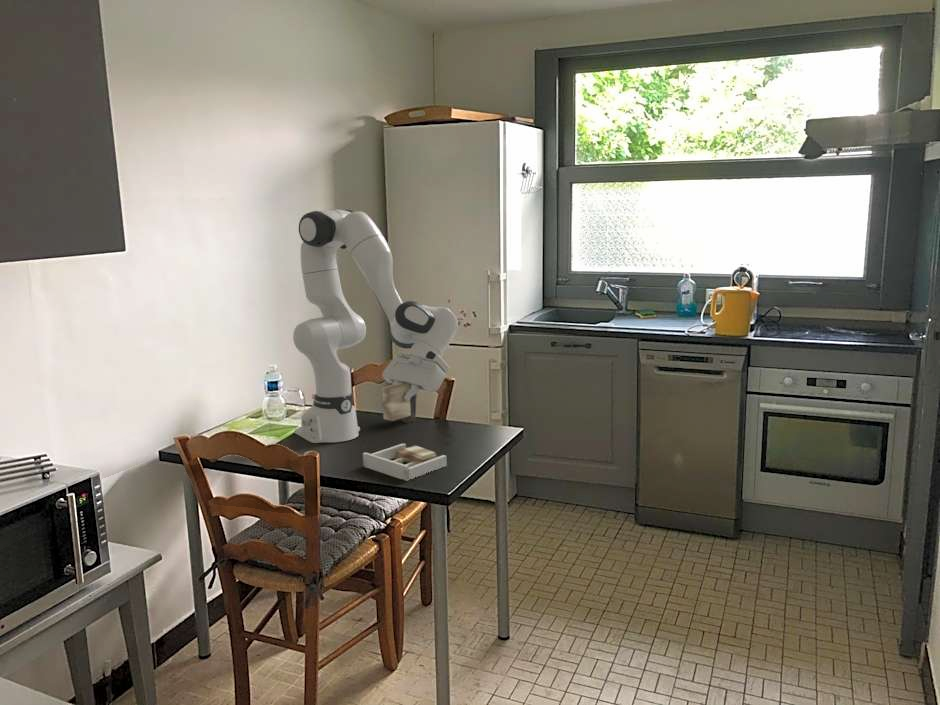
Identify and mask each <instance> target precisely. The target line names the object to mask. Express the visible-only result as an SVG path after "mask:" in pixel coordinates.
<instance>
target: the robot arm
mask: <svg viewBox="0 0 940 705" xmlns="http://www.w3.org/2000/svg"><path fill="white" fill-rule="evenodd" d="M298 234H299V237H300V238H301V241H302V242H301V244H300V268H301V275H302V280H303V286H304V292H305V297H306V300H308V303H309V302H310V304H313V305H314V306H316V307H318V309H319V310H320V312H321V314H322V317H321V316H320V317H316V318H310V319H307V320H306V321H303V322H301V323H298V324H297V325H296V326H295V328H294V330H293V334H292V340H293V344H294V346H295V347H296V349H297V350H298V352H300V353H301V354H303V355H304V356H305V357H306V358H307V359H308V360H309V362H310V364H311V366H312V369H313V373H314V380H315V392H316V393H315V394H312V395H311V396H312V397H311V399H313V403H312V405H311V407H309V408H308V409H306V411H305V412H304V413H303V414H302V415H301V419H300V421H301V422H300V424H301V425H300V426H299V427H296V428H295V429H294V431H293V432H294V434H295V435H298V436H299V437H301V438H303V439H304V440H306V441H308V442H310V443H312V444H321V443H341V442H342V443H343V442H347V441H350V440H353V439H356V438H357V437H358V436H359V435H360V433H359V432H360V431H361V427H360V426H358V425H359V424H358V419H357V418H358V417H357V410H356V408H355V406H354V405H353V404H354V402H355V401H354V397H355V396H354V393H353V391H352V377H351V376H352V374H351V373H352V372H351V369H350V367H349V366H348V365H346V364H345V363H344V362H341V361H340V359H339V357H338V352H337V351H339V350H342V349H343V350H344V349H348V348H351V347H353V346H356V345H358V344H359V343H362V342H363V341H364V340H365V338H366V335H367V326H366V322H365V321H364V319H363V318H362V316H361V315H359V314H357V313H356V312H354V310H353V309H352V308H351V306H350V305H349V303H348V302H347V300H346V297H345V295H344V292H343V290H342V289H343V288H342V284H341V279H340V278H341V277H340V275H339V268H338V264H337V256H336V255H337V251H338V250H339V249H342V250H345V249H346V248H347V251H348V252H349V254H350V256H351V258H352V259H353V261H354V262H355V264H356V266H357V267H358V269H359V271H360V272H361V273H362V275H363V277H364V278H365V280H366V282H367V283H368V284H369V286H370V288H371V290H372V291H373V294H374V296H375V298H376V300H377V301H378V304H379V305H380V307H381V309H382V311H383V314H384V315H385V317H386V319H387V322H388V325H389V336H390V338H391V341H392V342H393V343H394V344H395V345H396V346H397V347H399V348H402V349H409V351H408V353H407V354H404V353H403V354H402V353H401V354H400V355H397V356H395V357H394V358H393V359H392V360H391V361H390V362H389V363H388V364H387V366H386V367H385V368H384V370H383V371H382V373H381V376H382V378H383V380H385V381H386V383H388V384H391V385H393V384H397V383H406V384H410V388H411V389H410V390H409V391H408V392H407V393H405V392H404V394H403V396H402V399H403V400H405V401H409V400H410V398H411V397H412V396H414V395H415V394H416V393H417V394H418V392H419V391H424V392H429V393H432V394H433V393H435V392H436V391H438V390H439V389H440V387H441V385H442V384H443V382H444V380H445V378H446V374H447V373H448V372H449V371H450V366H449V365H448V363H447V362H446V361H445V359H443V355H444V351H445V350H446V349H447V348H448V347H449V346H450V344H451V342H452V340H453V339H454V338H455V335H456V333H457V330H458V327H459V320H458V318H457V316H456V315H455V313H454V312H453V311H452V310H451V309H449V308H448V307H445V306H428V305H425V304H422V303H419V302H417V301H414V300H408V301H404V302H403V300H402V299H401V297H400V294H399V293H398V291H397V288H396V285H395V282H394V273H393V272H394V271H393V270H394V269H393V268H394V266H393V265H394V264H393V263H394V260H393V253H392V252H391V249H390V246H389V244H388V242H387V240H386V238H385V237H384V235H383V233H382V232H381V230H380V229H379V227H378V225H377V224H376V223H375V222H374V221H373V219H372V218H371V217H370V216H369V215H368V214H367V213H365V212H363V211H361V210H359V211H358V210H357V211H353V210H350V209H337V208H335V209H334V208H332V209H331V208H330V209H326V210H324V209H323V210H313V211H309V212H307V213H305V214H304V215H302V216H301V218H300V219H299V223H298Z"/></svg>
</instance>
